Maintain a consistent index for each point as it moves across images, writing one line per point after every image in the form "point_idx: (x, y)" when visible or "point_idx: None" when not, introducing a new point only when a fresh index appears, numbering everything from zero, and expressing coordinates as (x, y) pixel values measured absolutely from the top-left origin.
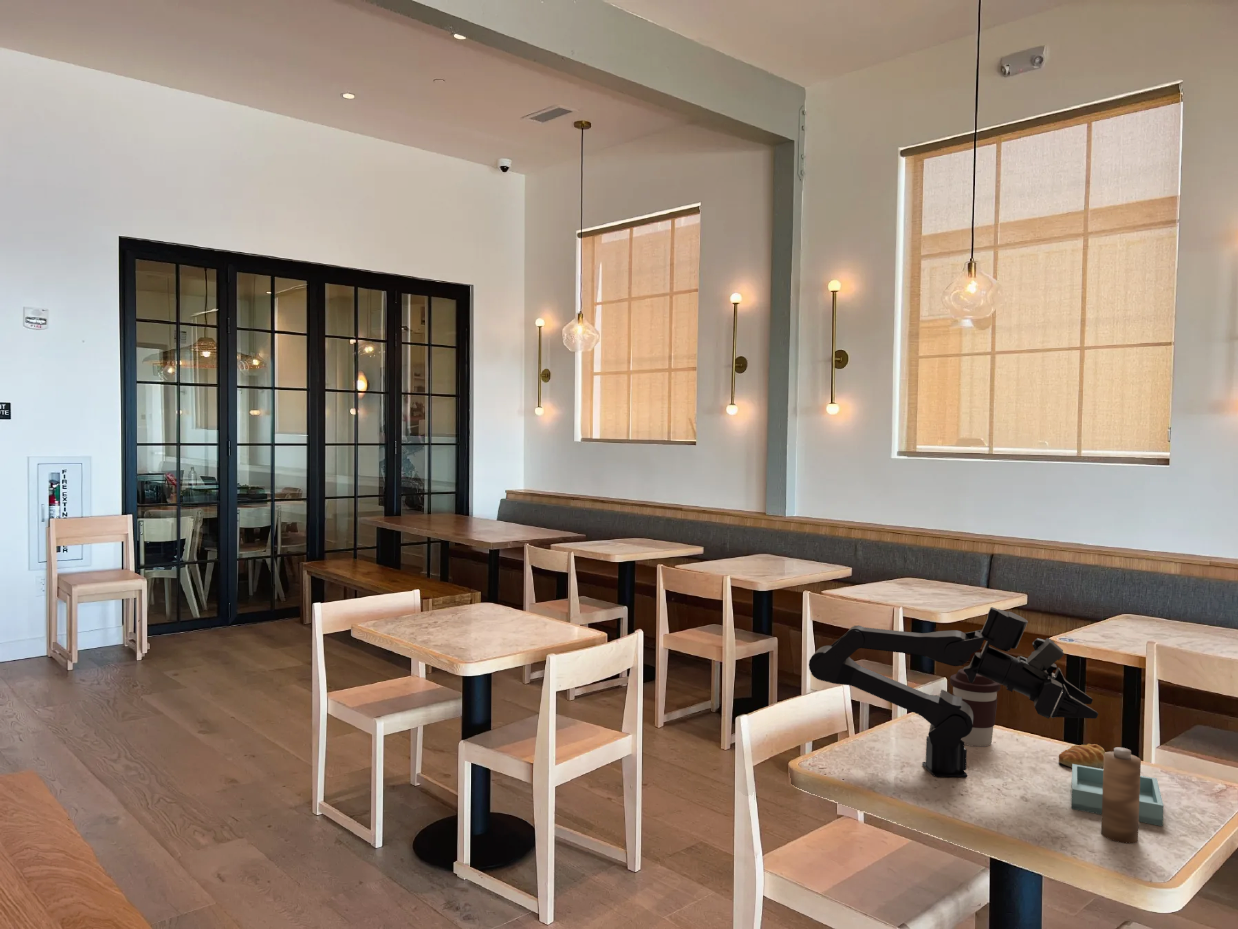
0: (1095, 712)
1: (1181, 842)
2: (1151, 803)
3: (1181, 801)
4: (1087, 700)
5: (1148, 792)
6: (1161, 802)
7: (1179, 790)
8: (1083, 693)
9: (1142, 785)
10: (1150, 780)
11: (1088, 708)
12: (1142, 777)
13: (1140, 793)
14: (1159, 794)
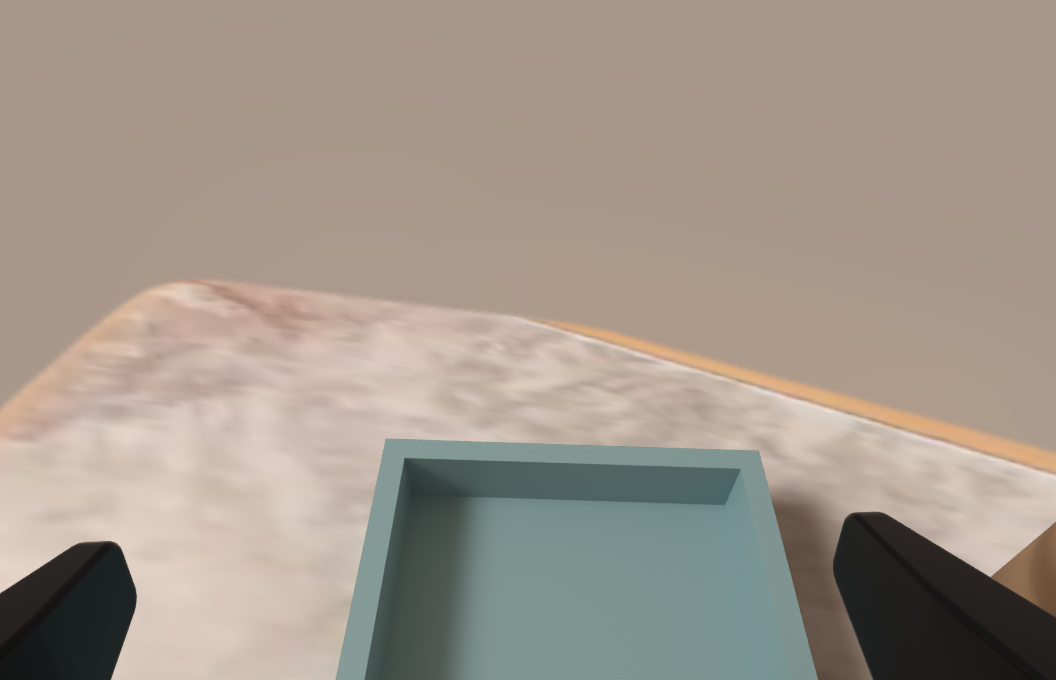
0: (909, 537)
1: (850, 460)
2: (769, 492)
3: (401, 413)
4: (100, 623)
5: (417, 506)
6: (721, 453)
7: (272, 405)
8: (5, 649)
9: (402, 515)
10: (403, 468)
11: (1025, 610)
12: (396, 494)
13: (447, 539)
14: (618, 450)
